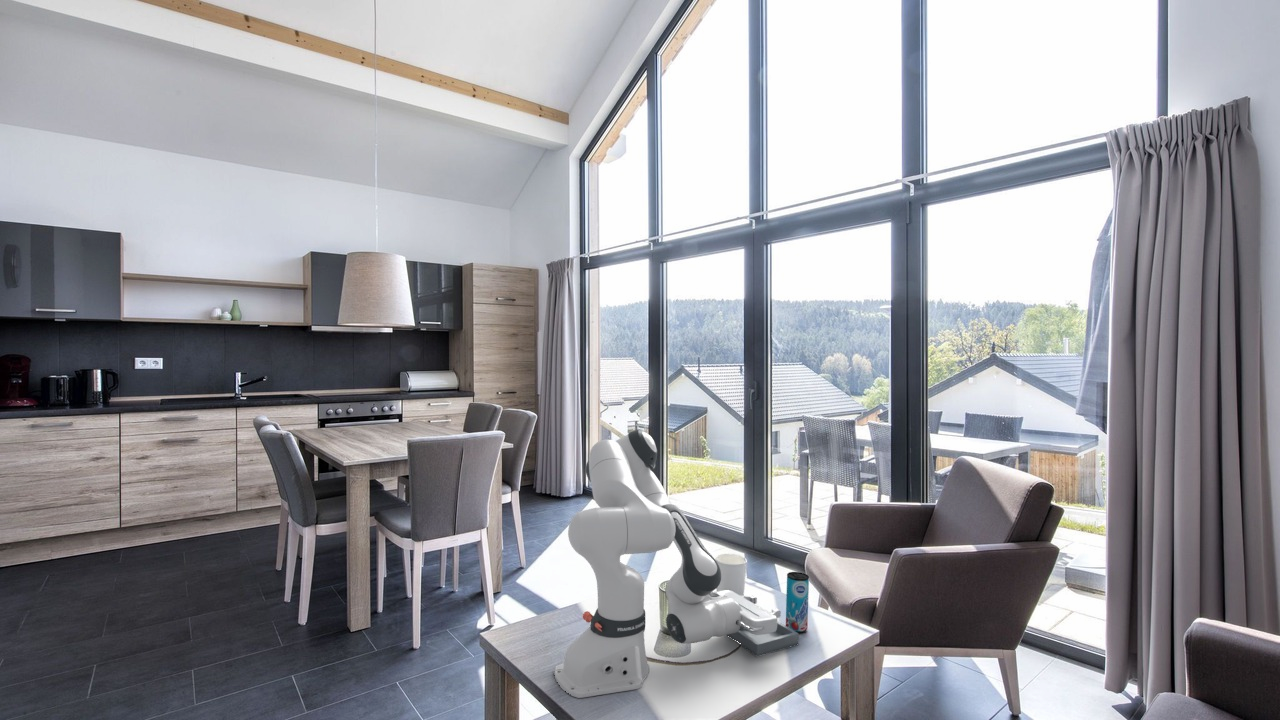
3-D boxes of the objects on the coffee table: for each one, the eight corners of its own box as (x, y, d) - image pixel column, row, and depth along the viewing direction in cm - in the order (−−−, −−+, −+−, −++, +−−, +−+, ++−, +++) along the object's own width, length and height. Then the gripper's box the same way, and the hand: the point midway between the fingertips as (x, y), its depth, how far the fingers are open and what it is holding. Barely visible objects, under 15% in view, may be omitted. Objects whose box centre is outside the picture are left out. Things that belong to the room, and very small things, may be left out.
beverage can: (788, 633, 167) (790, 579, 166) (783, 624, 172) (784, 571, 172) (810, 634, 167) (811, 579, 167) (803, 624, 173) (805, 571, 172)
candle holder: (752, 599, 189) (753, 561, 189) (728, 605, 184) (729, 566, 184) (731, 588, 198) (732, 551, 197) (707, 594, 192) (708, 556, 192)
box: (757, 656, 154) (757, 644, 154) (723, 633, 166) (723, 622, 166) (798, 644, 161) (798, 633, 161) (763, 623, 173) (763, 612, 173)
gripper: (752, 619, 148) (794, 609, 155) (703, 589, 166) (743, 581, 173) (751, 645, 148) (793, 633, 155) (702, 612, 166) (742, 603, 173)
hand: (766, 605), depth 164 cm, fingers open, 8 cm apart
